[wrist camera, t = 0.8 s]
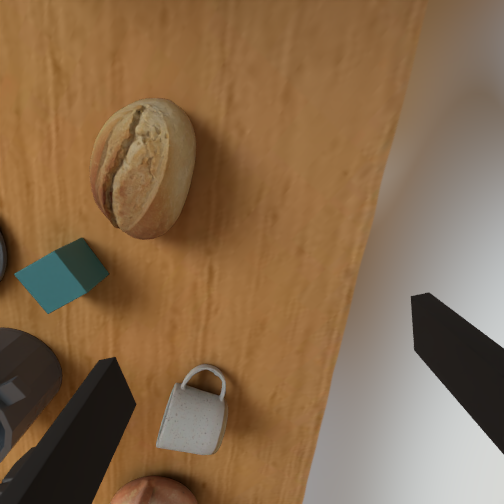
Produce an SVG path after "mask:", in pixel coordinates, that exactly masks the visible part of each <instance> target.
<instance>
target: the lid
mask: <svg viewBox="0 0 504 504" xmlns="http://www.w3.org/2000/svg"><path fill="white" fill-rule="evenodd" d="M6 264H7V252H6V246H5V242H4V239H3V237H2V234H1V232H0V281H1V279H2V277H3V275H4V273H5V269H6Z"/></svg>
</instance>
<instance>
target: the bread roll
mask: <svg viewBox="0 0 504 504" xmlns="http://www.w3.org/2000/svg"><path fill="white" fill-rule="evenodd" d="M195 158H196V137H195V132H194V128H193V125H192V123H191V121H190V120H189V118H188V116H187V115H186V113H185V112H184V111H183V110H182V109H181V108H180V107H179V106H177V105H176V104H175V103H174V102H172V101H171V100H168V99H163V98H146V99H141V100H138V101H135V102H133V103H132V104H130V105H128V106H126V107H124V108H122V109H120V110H119V111H117V112H116V113H115V114H113V115H112V116H111V117H110V118H109V119H108V120H107V122H106V123H105V124H104V126H103V127H102V129H101V131H100V132H99V134H98V136H97V138H96V141H95V144H94V147H93V152H92V156H91V162H90V183H91V190H92V192H93V196H94V200H95V202H96V204H97V205H98V207H99V208H100V210H101V211H102V212H103V214H104V215H105V216H106V217H107V218H108V219H109V220H110V222H111V223H112V224H113V226H114V227H115V228H120V229H121V230H122V231H123V232H125V233H127V234H128V235H130V236H131V237H134V238H137V239H142V240H144V239H154V238H156V237H159V236H161V235H163V234H164V233H166V232H167V231H168V230H169V229H170V228H171V227H172V226H173V225H174V223H175V222H176V220H177V219H178V217H179V215H180V213H181V211H182V208H183V206H184V204H185V201H186V198H187V195H188V191H189V188H190V184H191V179H192V175H193V170H194V165H195Z"/></svg>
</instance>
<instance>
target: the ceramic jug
mask: <svg viewBox="0 0 504 504" xmlns="http://www.w3.org/2000/svg"><path fill="white" fill-rule="evenodd" d="M110 504H198V503H197V500H196V498H195V496H194V495H193V494H192V492H191V491H190V490H189V489H188V488H187V487H185V486H184V485H183V484H181V483H179V482H177V481H175V480H173V479H170V478H166V477H161V476H147V477H142V478H138V479H135V480H133V481H131V482H129V483H127V484H125V485H124V486H123V487H122V488H120V489H119V490H118V492H117V493H116V494H115V495H114V497H113V499H112V500H111V502H110Z"/></svg>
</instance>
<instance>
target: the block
mask: <svg viewBox="0 0 504 504" xmlns="http://www.w3.org/2000/svg"><path fill="white" fill-rule="evenodd" d="M14 275H15V276H16V277H17V279H18V280H19V281H20V282H21V283H22V284H23V286H24V287H25V288H26V289H27V290H28V291H29V293H30V294H31V295H32V296H33V297H34V298H35V300H36V301H37V302H38V303H39V304H40V305H41V307H42V308H43V309H44V310H45V311H46V312H47V314H49V313H51V312H53V311H55V310H56V309H58V308H60V307H62V306H64V305H66V304H67V303H69V302H71V301H73V300H75V299H77V298H78V297H80V296H82V295H84V294H86V293H87V292H89V291H90V290H91V289H92V288H93V287H95V286H96V285H97V284H98V283H99V282H101V281H102V280H103V279H104V278H105V277H107V276H108V275H109V273H108V271H107V270H106V269H105V267H104V266H103V265H102V263H101V262H100V261H99V259H98V258H97V257H96V255H95V254H94V253H93V251H92V250H91V249H90V247H89V246H88V245H87V243H86V242H85V241H84V239H83V238H80V239H78V240H76V241H74V242H72V243H70V244H68V245H65V246H63V247H61V248H59V249H57V250H55V251H53V252H51V253H50V254H48V255H46V256H44V257H43V258H41V259H39V260H38V261H36V262H34V263H32V264H31V265H29V266H27V267H26V268H24V269H22V270H20V271H19V272H17V273H15V274H14Z"/></svg>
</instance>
